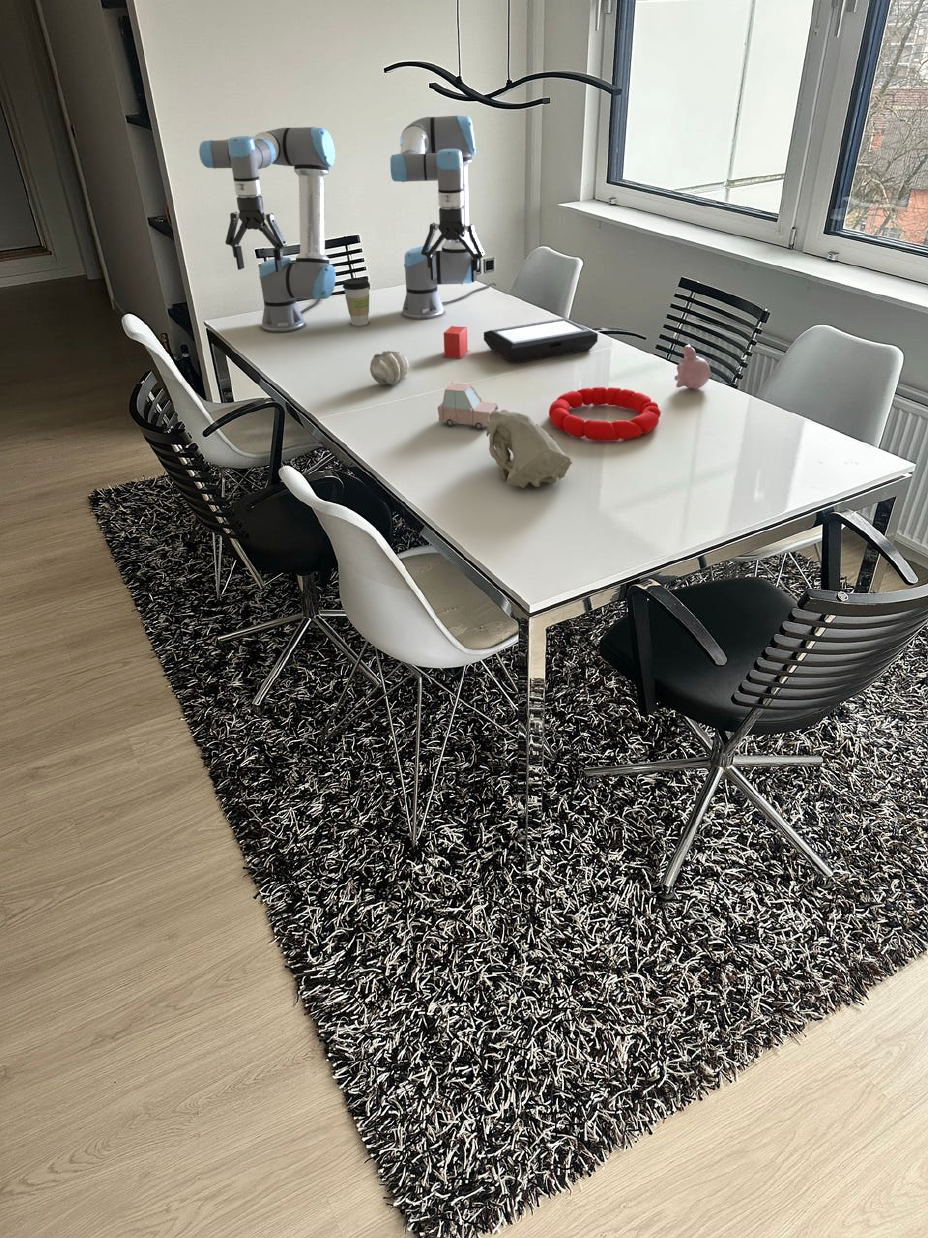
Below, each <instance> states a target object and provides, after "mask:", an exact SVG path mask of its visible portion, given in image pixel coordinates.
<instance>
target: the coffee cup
mask: <svg viewBox="0 0 928 1238" xmlns="http://www.w3.org/2000/svg"><path fill="white" fill-rule="evenodd" d="M370 287H371V283H370V282H369V279H367V278H365V277H351V278H347V279H345V280H344V281H343V285H342V288H343V290H344V297H345V301H346V305H347V310H348V314H349V318H350V323H351V325H353V326H357V327H359V326H365V325H368V324H369V317H370V316H369V313H370Z"/></svg>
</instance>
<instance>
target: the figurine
mask: <svg viewBox="0 0 928 1238" xmlns="http://www.w3.org/2000/svg"><path fill="white" fill-rule="evenodd" d="M682 354H683V358H684V359H683V361H682V362H679V363H678V364H677V365H676V372H677V375H675V376H674V381H675V382H676V381H677V382H676V384H675V386H676V388H681V387H686V388H688V389H693V390H694V389H695V390H696V389H700V388H703V387H704V386H705V385H706V384H707V383H708V382H709V379H710V377H711V367H710V364H709V362H708V361H706V359H704V358H702V357H700V356H697V353H696V350H695V349H694V347H692V345H690V344H686V345H685V346H684V347H683V348H682Z"/></svg>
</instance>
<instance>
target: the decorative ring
mask: <svg viewBox="0 0 928 1238" xmlns="http://www.w3.org/2000/svg"><path fill="white" fill-rule="evenodd" d="M583 405H584V406H586V407H587V406H591V405H593V406H604V405H608V406H614V407H619V408H624V409H628V410H632V411H635V412H636V413H638V414H639V415H637V416H635V417H632V418H631V419H630V420H625V419H624V420H623V419H622V420H614V421H611V422H609V421H607V420H606V421H605V420H593V419H587V420H586V421H585V419H584V418H582V417H579V416H577V415H573V414H571V413H570V410H571V409H579V408H581V407H582V406H583ZM548 416H549V419H550V422H551V423H552V425H553V426H554V427H555V428H556V429H558V430H559V431H561V432H563V433H567V434H568V435H569V436H573V437H576V438H580V439H582V438H583V437H585V438H586V439H587V440H591V441H601V442H602V441H603V442H608V441H609V442H610V441H611V442H612V441H615V442H616V441H618V440H630V439H634V438H638V437H641V436H642V434H647V433H650V432H651V431H653V430H654V429H655V428H656V427H657V426H658V424H659V422H660V421H659V420H660V417H661V410H660V408H659V405H658V403H657V402H656V401H652V399H651V397H649V396H648V395H646V394H644V393H642V392H635V391H634V390H632V389H628V388H624V389H622V388H620V387H613V386H612V387H611V386H610V387H608V388H606V387H604V386H594V387H585V388H584V387H583V388H580V389H578V390H571V391H568V392H565V393H563V394H561V395H560V396H558V397H557V398H556V400H554V401H552V403H551V404H550V407H549V409H548Z"/></svg>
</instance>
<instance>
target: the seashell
mask: <svg viewBox="0 0 928 1238" xmlns="http://www.w3.org/2000/svg"><path fill="white" fill-rule="evenodd" d="M369 371H370V374H371V377H372V378H373V380H374V381H375V382H376V383H378V384H380V385H387V384H389V385H396V384H397V385H398V384H399V383H401V382H402V380H404V378H405V377H406V376H407V375H408V372H409V361H408V359H407V357H406V355H404V354H402V353H400V352H399V351H398V352H397V351H389V350H387V351H385V350H383V351H382V353H376V354H374V355H373V357H372V359H371V361H370V365H369Z"/></svg>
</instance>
